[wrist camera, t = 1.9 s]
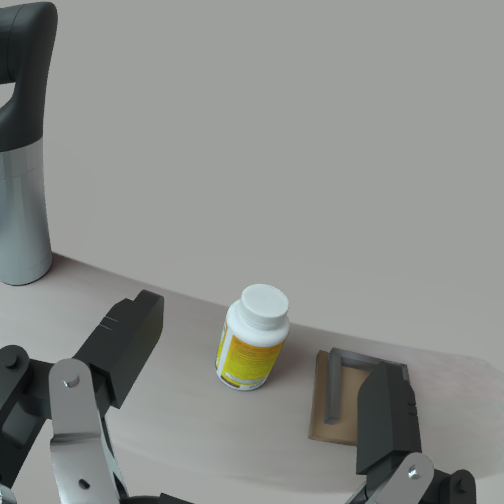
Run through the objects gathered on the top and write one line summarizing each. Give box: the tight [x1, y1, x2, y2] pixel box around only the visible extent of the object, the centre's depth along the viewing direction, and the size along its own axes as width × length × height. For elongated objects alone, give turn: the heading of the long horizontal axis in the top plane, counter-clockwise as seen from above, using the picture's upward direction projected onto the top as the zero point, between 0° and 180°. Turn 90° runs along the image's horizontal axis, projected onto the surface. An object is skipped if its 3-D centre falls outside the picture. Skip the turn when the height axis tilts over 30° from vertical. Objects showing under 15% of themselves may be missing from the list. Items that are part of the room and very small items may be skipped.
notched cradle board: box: [309, 348, 410, 446], centre depth 28 cm, size 12×11×2 cm
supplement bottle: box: [215, 284, 290, 390], centre depth 27 cm, size 6×6×10 cm
